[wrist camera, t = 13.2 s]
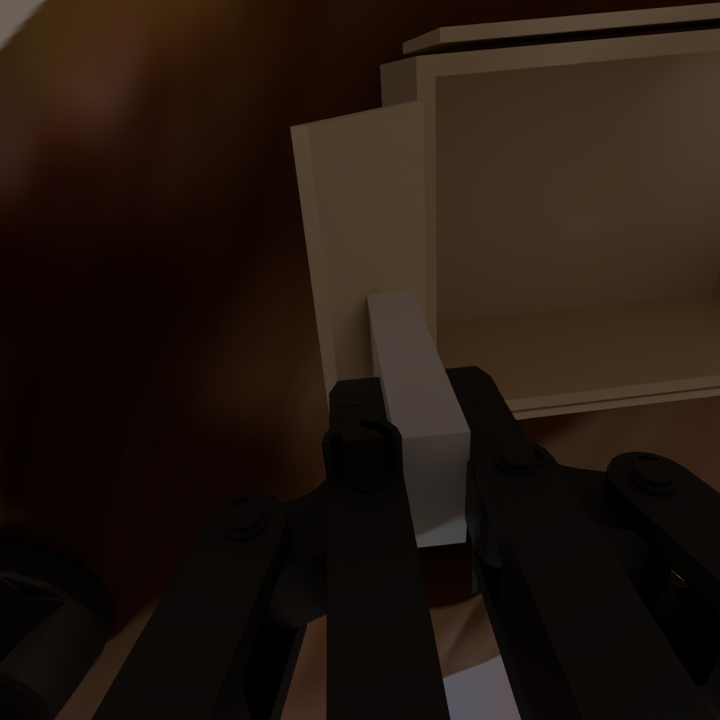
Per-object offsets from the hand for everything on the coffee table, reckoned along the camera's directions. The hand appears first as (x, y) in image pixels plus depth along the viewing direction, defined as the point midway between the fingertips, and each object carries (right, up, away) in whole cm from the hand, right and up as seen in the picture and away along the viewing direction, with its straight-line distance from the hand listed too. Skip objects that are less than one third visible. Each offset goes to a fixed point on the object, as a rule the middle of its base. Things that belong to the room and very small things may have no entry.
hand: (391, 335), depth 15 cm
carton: (+11, +8, +12) cm, 18 cm away
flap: (0, +1, +1) cm, 1 cm away
